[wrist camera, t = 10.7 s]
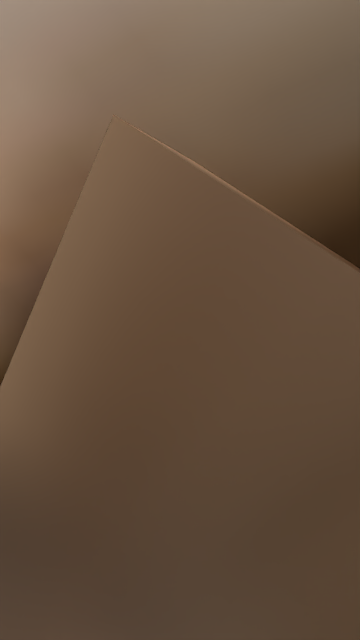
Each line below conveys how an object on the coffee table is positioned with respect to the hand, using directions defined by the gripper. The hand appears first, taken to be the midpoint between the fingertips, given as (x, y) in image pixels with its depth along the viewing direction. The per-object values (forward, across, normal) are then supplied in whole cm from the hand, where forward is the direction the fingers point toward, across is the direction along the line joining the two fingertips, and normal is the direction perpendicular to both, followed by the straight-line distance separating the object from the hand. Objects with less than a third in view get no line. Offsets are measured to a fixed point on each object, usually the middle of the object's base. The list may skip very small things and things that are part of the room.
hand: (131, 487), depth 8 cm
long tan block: (+2, 0, 0) cm, 2 cm away
